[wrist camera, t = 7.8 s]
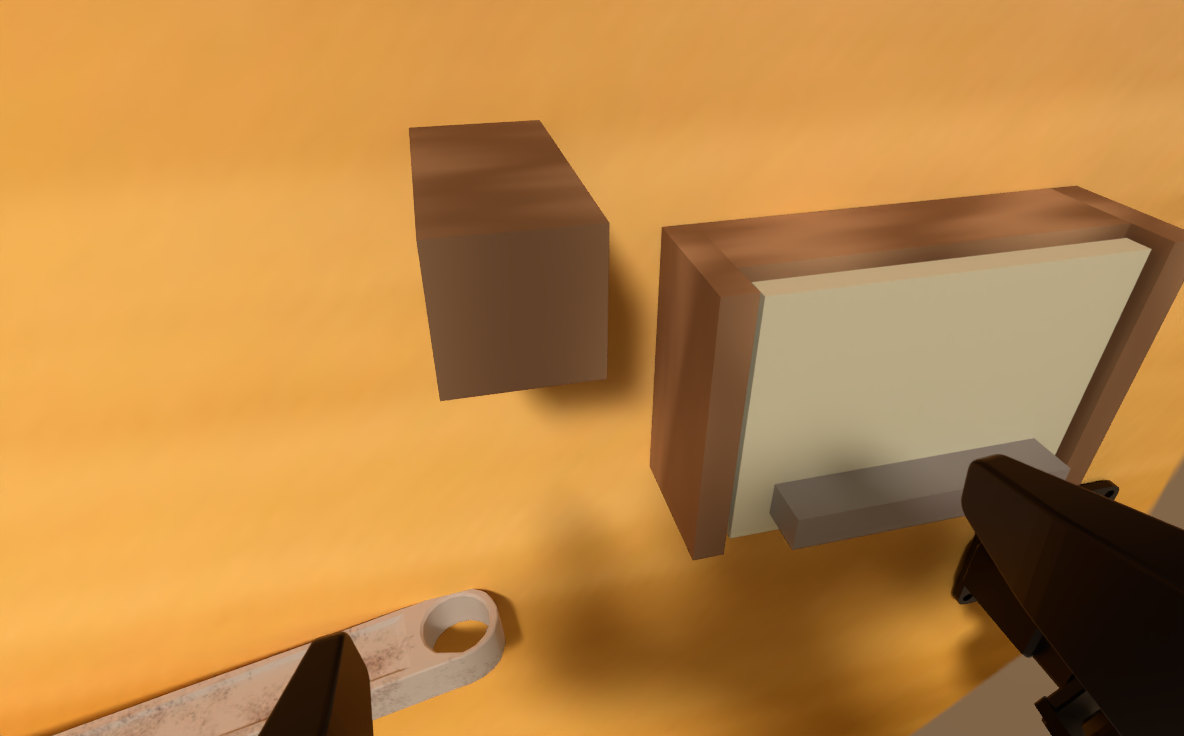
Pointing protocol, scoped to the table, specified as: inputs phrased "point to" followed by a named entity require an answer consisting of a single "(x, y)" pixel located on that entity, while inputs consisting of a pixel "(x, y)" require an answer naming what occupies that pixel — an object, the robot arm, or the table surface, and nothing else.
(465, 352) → the brown rectangular block
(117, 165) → the table surface
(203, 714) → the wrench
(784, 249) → the wooden tray
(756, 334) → the cream cabinet door
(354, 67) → the table surface
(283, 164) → the table surface
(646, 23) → the table surface
